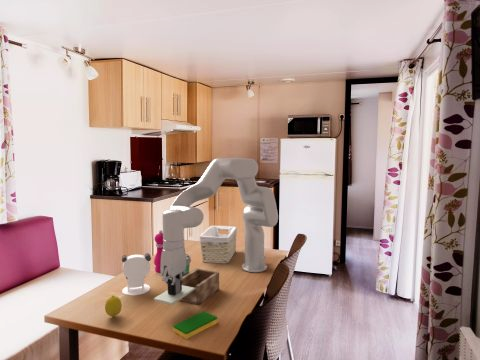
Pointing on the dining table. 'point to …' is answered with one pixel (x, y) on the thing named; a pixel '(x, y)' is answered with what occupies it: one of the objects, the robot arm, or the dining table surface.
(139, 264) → the panda figurine
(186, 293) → the cover plate
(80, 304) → the dining table surface
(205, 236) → the storage basket
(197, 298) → the slide box
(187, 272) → the food container
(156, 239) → the pepper mill
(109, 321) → the dining table surface
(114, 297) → the lemon
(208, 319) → the dish sponge
